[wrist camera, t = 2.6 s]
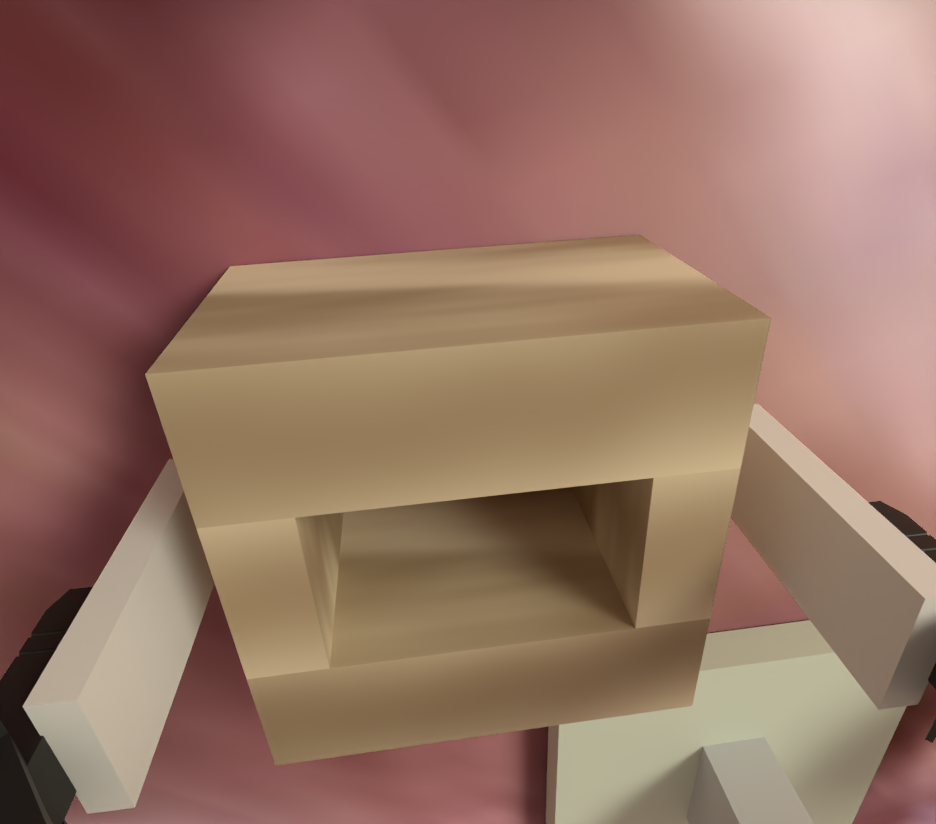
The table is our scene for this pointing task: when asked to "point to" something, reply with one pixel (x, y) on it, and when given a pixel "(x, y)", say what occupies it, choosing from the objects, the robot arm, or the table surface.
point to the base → (731, 743)
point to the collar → (462, 483)
